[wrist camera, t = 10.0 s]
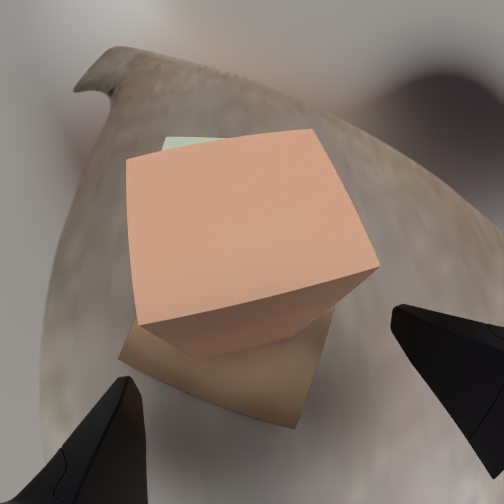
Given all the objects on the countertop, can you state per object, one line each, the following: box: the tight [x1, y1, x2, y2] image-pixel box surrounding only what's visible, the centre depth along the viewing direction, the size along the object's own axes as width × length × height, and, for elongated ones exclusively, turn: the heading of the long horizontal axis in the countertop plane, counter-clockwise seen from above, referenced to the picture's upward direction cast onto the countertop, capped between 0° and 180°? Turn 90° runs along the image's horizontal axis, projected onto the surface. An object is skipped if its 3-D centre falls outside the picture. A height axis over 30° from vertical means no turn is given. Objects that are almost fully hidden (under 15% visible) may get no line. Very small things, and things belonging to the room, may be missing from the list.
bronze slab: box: [118, 305, 335, 429], centre depth 20 cm, size 12×12×3 cm
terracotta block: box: [126, 129, 380, 360], centre depth 13 cm, size 5×6×12 cm
